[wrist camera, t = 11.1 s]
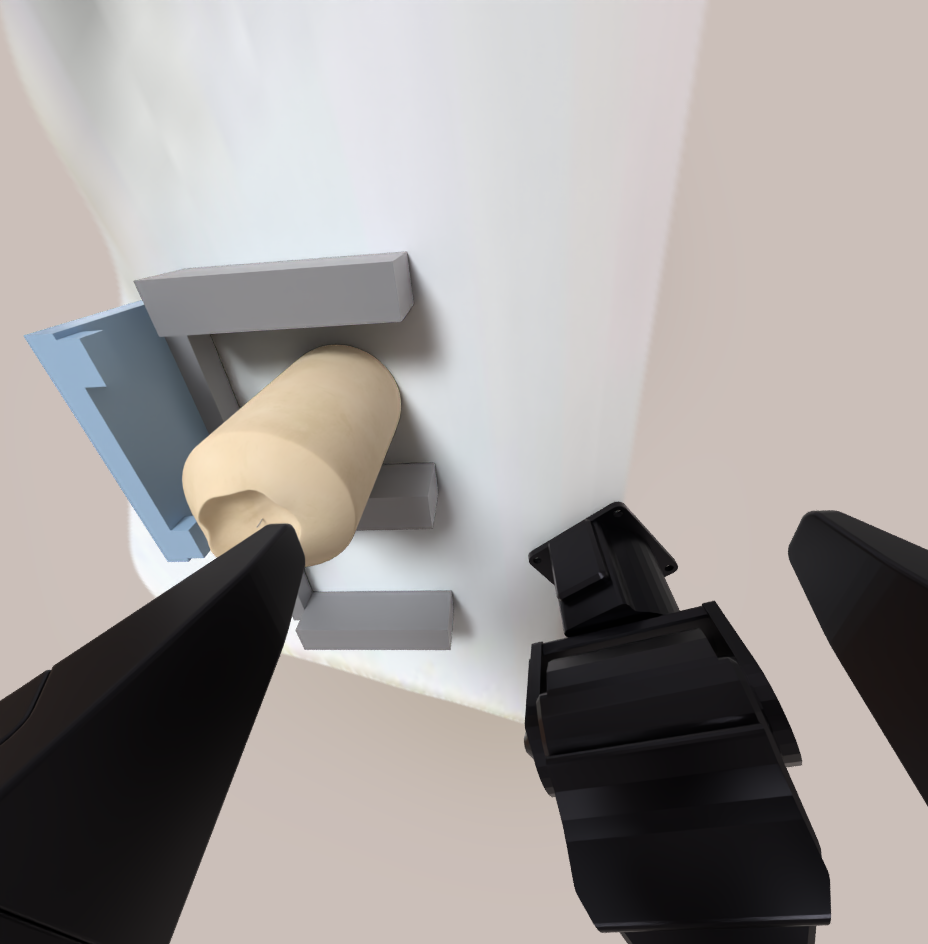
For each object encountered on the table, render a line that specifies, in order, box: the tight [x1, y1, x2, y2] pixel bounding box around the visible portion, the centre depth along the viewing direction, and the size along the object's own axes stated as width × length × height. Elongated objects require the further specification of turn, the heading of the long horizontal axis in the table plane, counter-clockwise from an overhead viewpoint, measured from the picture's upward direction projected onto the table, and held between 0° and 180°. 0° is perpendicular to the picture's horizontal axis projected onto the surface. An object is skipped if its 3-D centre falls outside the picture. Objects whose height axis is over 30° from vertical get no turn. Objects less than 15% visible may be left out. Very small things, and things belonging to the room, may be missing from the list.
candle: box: [182, 344, 401, 567], centre depth 16 cm, size 6×6×10 cm
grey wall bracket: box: [24, 252, 454, 650], centre depth 21 cm, size 22×12×6 cm, turn 4°
